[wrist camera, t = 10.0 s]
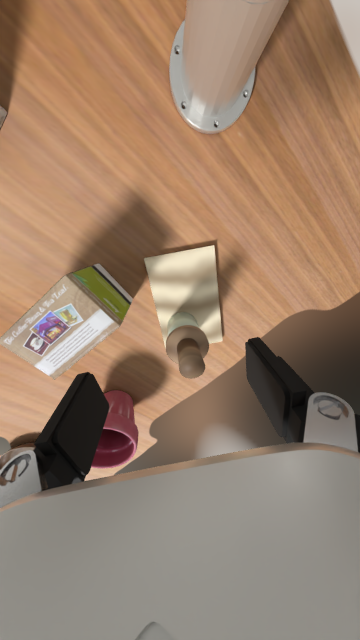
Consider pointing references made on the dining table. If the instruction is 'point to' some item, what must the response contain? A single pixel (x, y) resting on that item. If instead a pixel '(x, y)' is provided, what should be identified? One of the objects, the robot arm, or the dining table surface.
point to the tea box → (69, 320)
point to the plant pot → (117, 432)
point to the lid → (188, 350)
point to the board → (186, 288)
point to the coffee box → (2, 115)
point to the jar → (181, 321)
